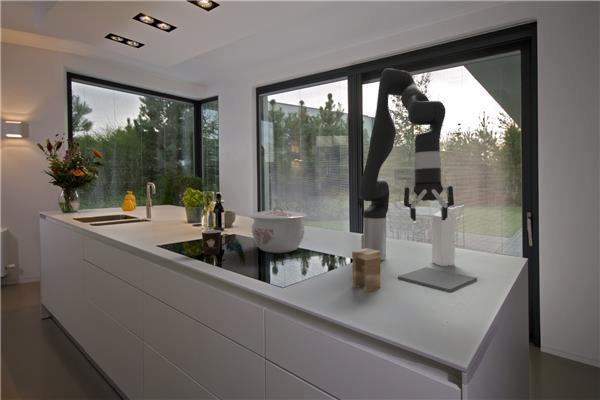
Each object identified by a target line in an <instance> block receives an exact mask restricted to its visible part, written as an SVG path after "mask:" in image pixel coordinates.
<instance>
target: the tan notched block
mask: <svg viewBox="0 0 600 400" xmlns="http://www.w3.org/2000/svg"><path fill="white" fill-rule="evenodd" d="M351 257H352V288H360V287H363V286H364V292H367V293H368V292H371V291H374V290H378V289H380V288H381V266H382V265H381V261H382V260H381V251H377V250H372V249H367V248H364V249H361V248H360V249H356V250H352V251H351Z"/></svg>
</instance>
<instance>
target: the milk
mask: <svg viewBox="0 0 600 400" xmlns="http://www.w3.org/2000/svg"><path fill="white" fill-rule="evenodd" d="M441 208H442V206H439V210H438V211H436V212H435V213H433V214H432V234H431V235H432V239H431V243H432V245H431V262H432V263H433V264H434V265H438V266H439V267H447V266H448V265H449V266H455V261H456V260H455V259H456V257H455V255H456V253H455V252H456V219H457V218H456V216H455V215H454V214H452V213H450V208H449V207H448V208H447V215H448V217H447V218H445V220H442V219H441Z"/></svg>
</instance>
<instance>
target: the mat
mask: <svg viewBox="0 0 600 400" xmlns="http://www.w3.org/2000/svg"><path fill="white" fill-rule="evenodd" d="M397 279H398V280H402V281H406V282H409V283H413V284H417V285H421V286H425V287H429V288H433V289H436V290H441V291H445V292H449V293H451V292H453V291H456V290H458V289H461V288H463V287H464V286H466V285H469V284H471V283H473V282H476V281H477V280H478V277H475V276H471V275H466V274H461V273H457V272H451V271H447V270H442V269H437V268H433V267H428V266H426V267H423V268H419V269H416V270H413V271H409V272H407V273H403V274H400V275H398V276H397Z"/></svg>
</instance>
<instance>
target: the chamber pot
mask: <svg viewBox="0 0 600 400" xmlns="http://www.w3.org/2000/svg"><path fill="white" fill-rule="evenodd" d="M308 216H309V215H308V213H305V212H301V211H295V210H290V209H289V210H288V209H287V210H286V209H283V208H282V207H281V206H275V207H274V208H273V209H272V210H262V211H258V212H254V213H251V214H249V215H248V217H249V218H251V219H253V223H252V225H251V233H252V239H253V241H254V242H255V244H256V245H257V247H258V248H259V249H260V250H261V251H262V252H266V253H267V254H268V253H269V254H286V253H291V252H293V251H295V250H297V249H298V248H299V246H300V245H301V243H302V242H303V240H304V237H305V236H304V235H305V227H306V226H305V224H304V222H303V219H304V218H307V217H308Z"/></svg>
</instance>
